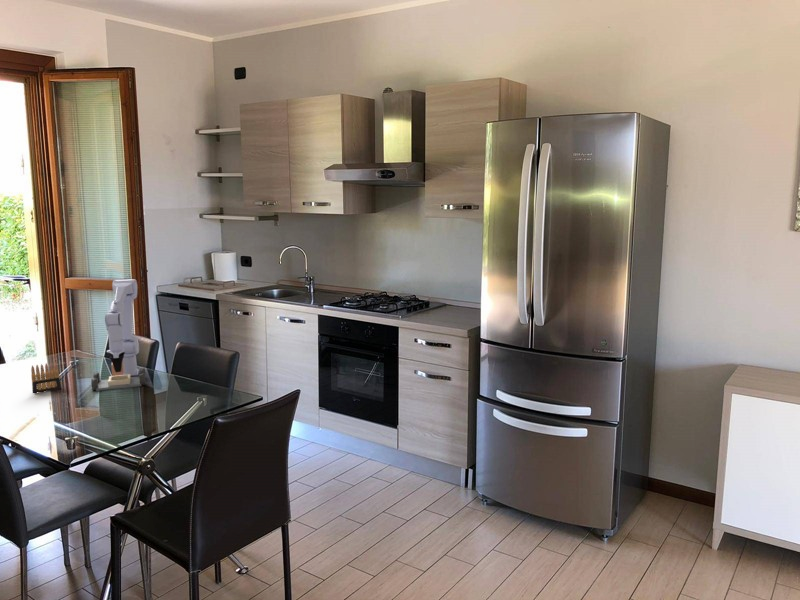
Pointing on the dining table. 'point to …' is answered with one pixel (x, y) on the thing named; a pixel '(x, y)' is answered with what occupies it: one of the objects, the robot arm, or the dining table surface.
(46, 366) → the ammunition clip
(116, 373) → the block
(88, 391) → the dining table surface
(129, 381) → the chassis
